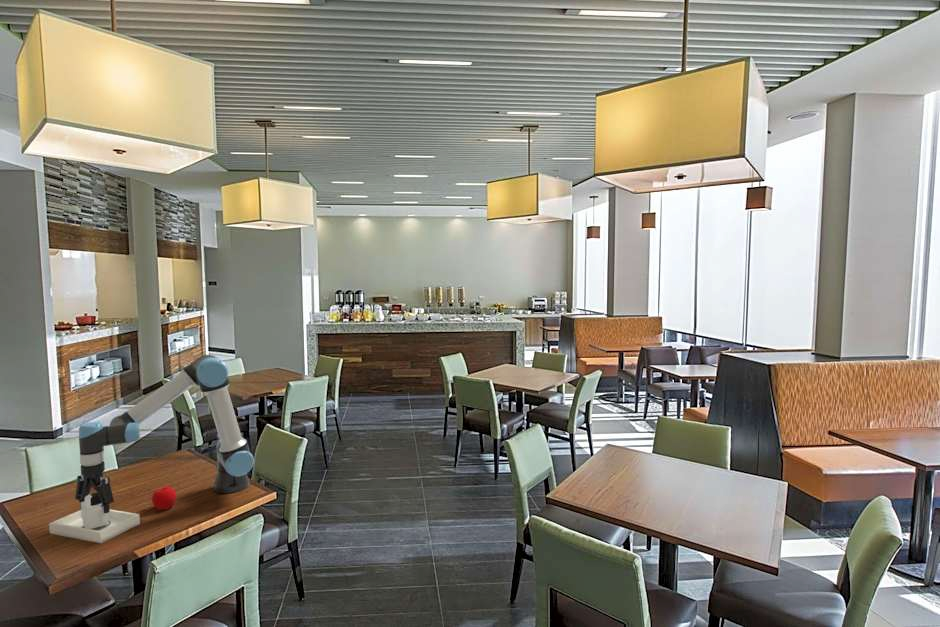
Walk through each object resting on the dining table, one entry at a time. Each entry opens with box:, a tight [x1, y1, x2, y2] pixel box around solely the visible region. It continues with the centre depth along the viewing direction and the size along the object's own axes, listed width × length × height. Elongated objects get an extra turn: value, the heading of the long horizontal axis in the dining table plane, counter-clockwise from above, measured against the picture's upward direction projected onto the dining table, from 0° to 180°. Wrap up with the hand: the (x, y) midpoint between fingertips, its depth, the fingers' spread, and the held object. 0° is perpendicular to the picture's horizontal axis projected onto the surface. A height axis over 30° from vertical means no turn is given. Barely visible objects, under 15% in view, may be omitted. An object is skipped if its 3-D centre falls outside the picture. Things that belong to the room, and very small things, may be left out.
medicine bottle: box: [82, 492, 108, 529], centre depth 204 cm, size 7×7×12 cm
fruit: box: [151, 485, 177, 511], centre depth 223 cm, size 9×9×10 cm
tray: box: [48, 508, 141, 544], centre depth 204 cm, size 26×16×4 cm, turn 73°
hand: (95, 519), depth 204 cm, fingers open, 9 cm apart
